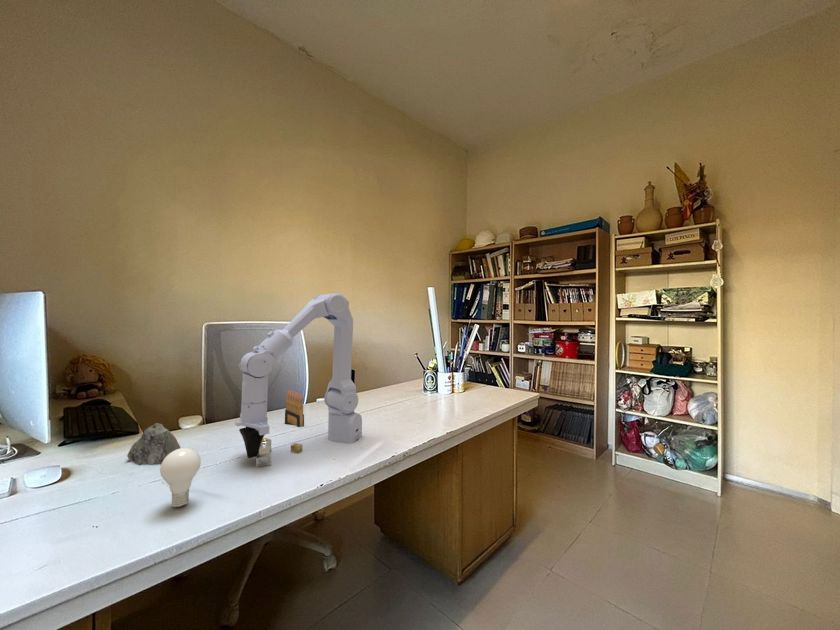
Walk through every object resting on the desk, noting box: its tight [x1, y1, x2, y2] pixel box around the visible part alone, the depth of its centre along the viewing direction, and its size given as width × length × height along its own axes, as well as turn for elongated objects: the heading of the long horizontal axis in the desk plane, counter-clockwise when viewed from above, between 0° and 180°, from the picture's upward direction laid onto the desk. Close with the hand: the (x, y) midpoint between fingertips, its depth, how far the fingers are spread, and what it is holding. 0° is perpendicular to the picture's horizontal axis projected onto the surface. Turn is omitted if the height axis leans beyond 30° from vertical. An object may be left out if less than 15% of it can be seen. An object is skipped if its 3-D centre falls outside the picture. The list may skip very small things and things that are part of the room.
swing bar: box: [255, 437, 272, 469], centre depth 83 cm, size 12×3×3 cm, turn 24°
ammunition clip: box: [284, 389, 305, 428], centre depth 111 cm, size 11×2×12 cm, turn 46°
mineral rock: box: [126, 422, 181, 466], centre depth 83 cm, size 13×11×10 cm
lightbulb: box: [159, 447, 202, 508], centre depth 64 cm, size 6×6×11 cm
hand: (252, 457), depth 81 cm, fingers closed, pressing on swing bar
